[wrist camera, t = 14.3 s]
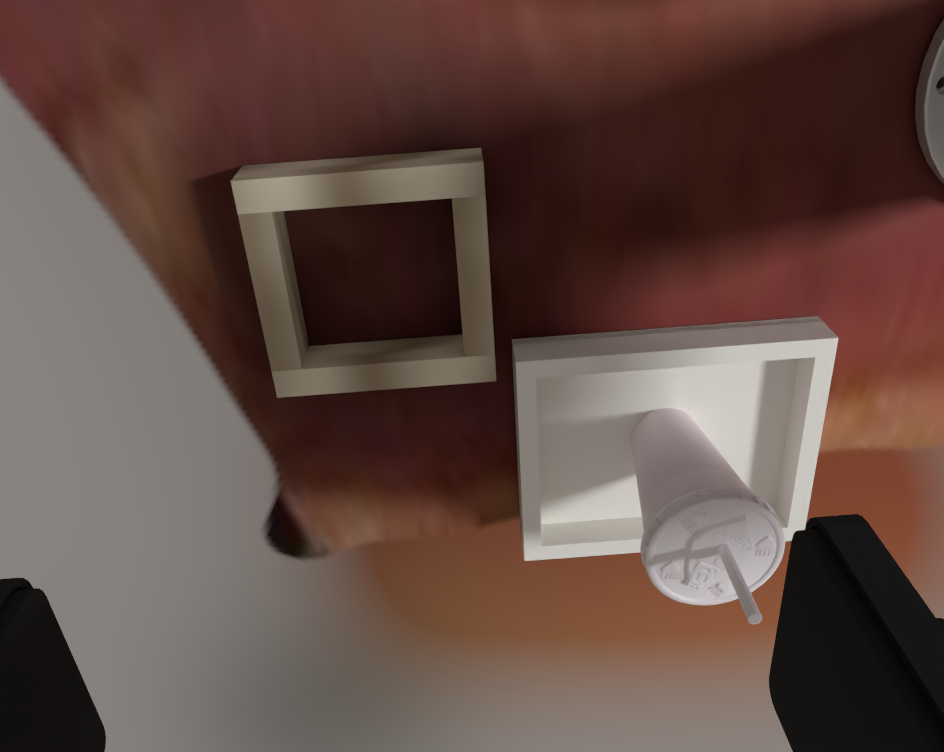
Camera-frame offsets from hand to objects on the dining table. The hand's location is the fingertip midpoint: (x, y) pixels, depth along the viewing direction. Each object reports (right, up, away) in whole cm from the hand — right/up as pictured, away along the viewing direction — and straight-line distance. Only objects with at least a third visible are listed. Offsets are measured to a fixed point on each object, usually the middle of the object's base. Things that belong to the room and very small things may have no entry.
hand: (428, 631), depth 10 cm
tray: (+11, 0, +35) cm, 37 cm away
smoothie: (+11, 0, +35) cm, 37 cm away
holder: (-4, +9, +30) cm, 31 cm away
